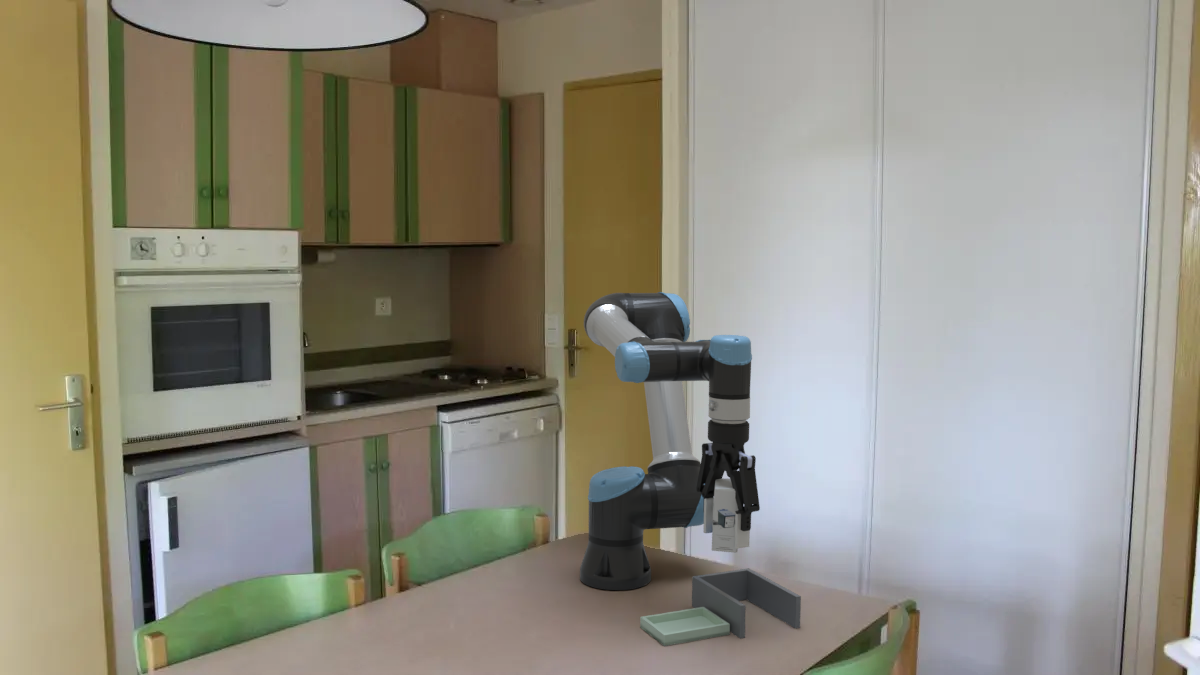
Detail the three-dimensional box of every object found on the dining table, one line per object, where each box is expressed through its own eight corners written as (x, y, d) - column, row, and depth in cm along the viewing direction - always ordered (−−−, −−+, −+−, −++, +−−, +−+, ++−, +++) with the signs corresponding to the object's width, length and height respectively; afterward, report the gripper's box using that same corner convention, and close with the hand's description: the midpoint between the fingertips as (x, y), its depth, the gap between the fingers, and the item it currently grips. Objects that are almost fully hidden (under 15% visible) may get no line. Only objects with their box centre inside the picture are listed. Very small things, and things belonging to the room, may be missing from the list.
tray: (640, 627, 176) (640, 616, 176) (703, 616, 181) (703, 606, 181) (664, 646, 167) (664, 635, 167) (729, 634, 173) (729, 623, 173)
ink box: (712, 537, 181) (714, 477, 180) (739, 539, 180) (741, 478, 179) (711, 551, 173) (712, 488, 172) (739, 553, 172) (741, 489, 171)
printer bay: (691, 606, 187) (692, 576, 187) (748, 597, 192) (748, 568, 192) (740, 638, 171) (740, 606, 171) (800, 627, 176) (800, 596, 176)
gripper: (679, 411, 182) (676, 526, 184) (747, 432, 163) (744, 559, 165) (711, 409, 186) (709, 521, 188) (783, 428, 166) (779, 553, 168)
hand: (725, 539), depth 176 cm, fingers closed on ink box, 9 cm apart
